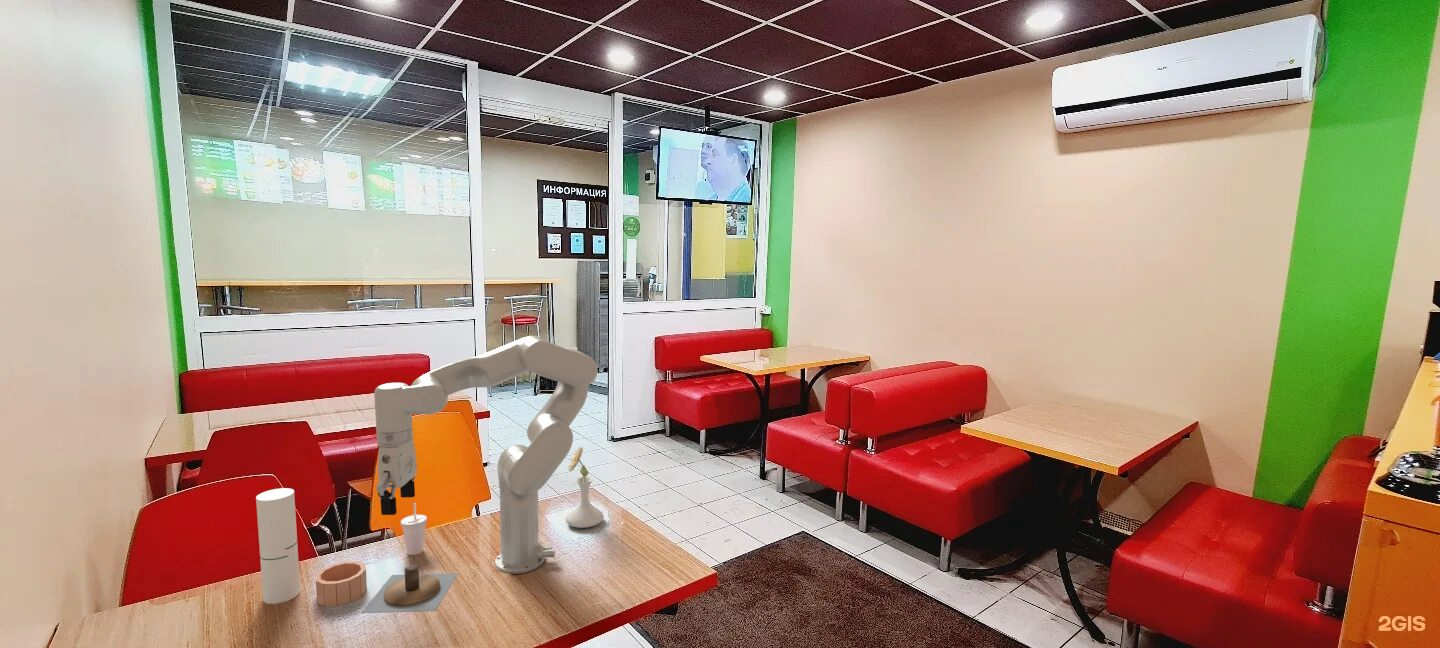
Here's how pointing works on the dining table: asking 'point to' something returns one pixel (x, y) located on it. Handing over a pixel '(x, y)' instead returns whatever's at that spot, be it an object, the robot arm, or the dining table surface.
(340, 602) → the bowl
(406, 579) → the lid
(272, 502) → the cylindrical container
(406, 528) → the smoothie
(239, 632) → the dining table surface
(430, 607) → the mat
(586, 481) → the flower in vase
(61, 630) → the dining table surface
